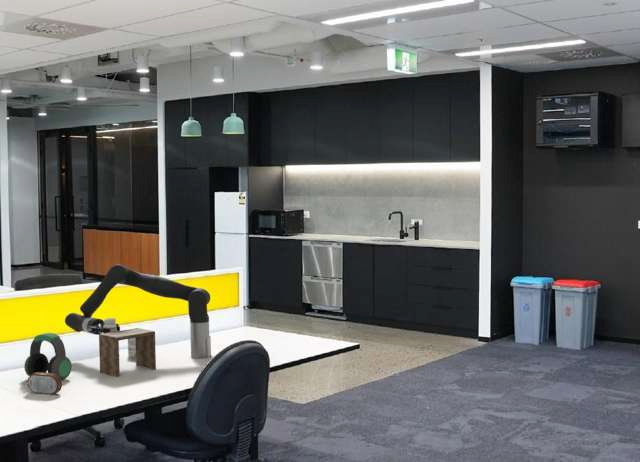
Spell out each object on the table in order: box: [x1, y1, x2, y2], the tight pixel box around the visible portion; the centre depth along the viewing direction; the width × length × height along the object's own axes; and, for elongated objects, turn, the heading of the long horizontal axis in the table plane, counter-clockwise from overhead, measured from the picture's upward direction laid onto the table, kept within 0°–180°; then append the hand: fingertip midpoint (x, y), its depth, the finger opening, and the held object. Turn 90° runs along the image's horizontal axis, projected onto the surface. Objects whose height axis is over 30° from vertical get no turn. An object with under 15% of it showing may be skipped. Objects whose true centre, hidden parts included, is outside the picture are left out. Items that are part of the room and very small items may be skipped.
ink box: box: [127, 338, 136, 358], centre depth 397 cm, size 9×5×12 cm, turn 56°
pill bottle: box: [103, 317, 117, 333], centre depth 373 cm, size 6×6×11 cm
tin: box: [27, 372, 63, 395], centre depth 324 cm, size 15×3×8 cm, turn 71°
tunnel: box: [98, 327, 157, 378], centre depth 363 cm, size 14×20×18 cm
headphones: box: [23, 332, 72, 381], centre depth 350 cm, size 19×11×20 cm, turn 65°
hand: (112, 329), depth 371 cm, fingers closed on pill bottle, 6 cm apart
